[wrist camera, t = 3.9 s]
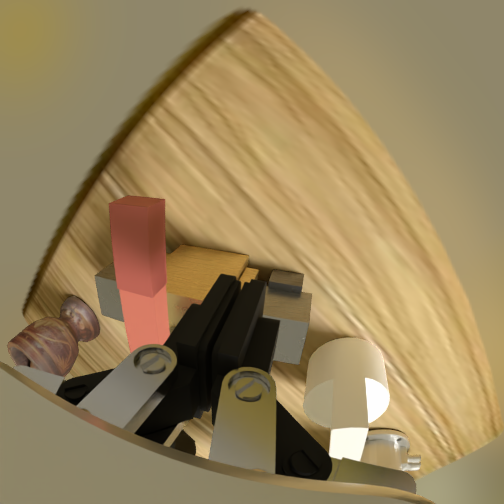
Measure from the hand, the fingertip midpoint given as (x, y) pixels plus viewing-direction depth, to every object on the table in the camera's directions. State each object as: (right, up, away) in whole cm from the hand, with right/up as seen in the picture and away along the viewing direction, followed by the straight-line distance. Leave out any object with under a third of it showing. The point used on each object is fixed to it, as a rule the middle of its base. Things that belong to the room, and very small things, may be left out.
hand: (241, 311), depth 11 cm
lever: (-6, -1, +7) cm, 9 cm away
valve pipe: (-4, -1, +20) cm, 21 cm away
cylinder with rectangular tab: (+11, -11, +21) cm, 26 cm away
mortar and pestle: (-24, -9, +29) cm, 38 cm away
